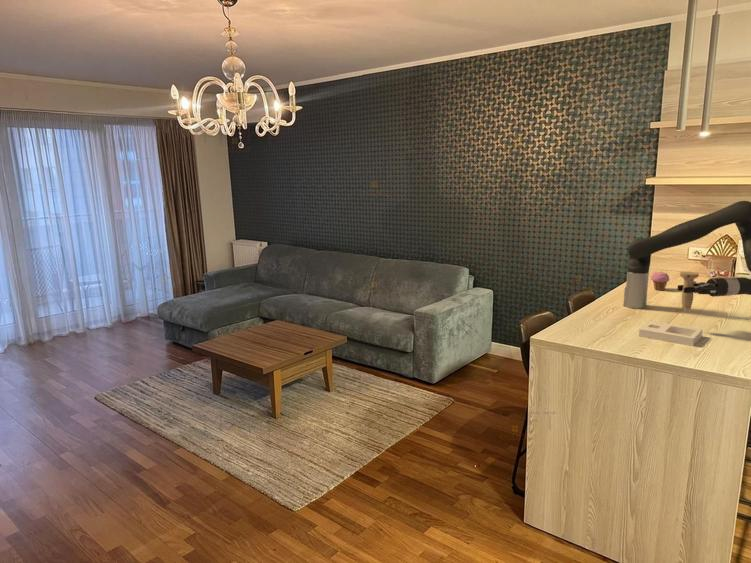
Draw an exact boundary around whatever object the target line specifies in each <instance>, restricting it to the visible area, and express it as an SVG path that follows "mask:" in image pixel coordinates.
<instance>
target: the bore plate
mask: <svg viewBox="0 0 751 563" xmlns="http://www.w3.org/2000/svg"><path fill="white" fill-rule="evenodd" d="M638 331H639V332H638V337H642V338H647V339H653V340H658V341H664V342H668V343H674V344H679V345H683V346H684V345H685V346H689V347H690V346H691V347H694V345H695V344H697V342H698V341H699V340H700V339H701V338H702V337H703V329H702V328H698V327H697V328H695V327H690V326H683V325H677V324H671V323H666V322H665V323H664V322H660V321H659V322H658V321H653V320H650V321H648V322H647V323H645V325H643V326H641V328H639V330H638Z"/></svg>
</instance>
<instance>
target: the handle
mask: <svg viewBox="0 0 751 563" xmlns="http://www.w3.org/2000/svg"><path fill="white" fill-rule="evenodd" d="M679 277H681V278H683V284H682V285H683V290H684V287H693V284H694V281H695V279H698V278H699V272H692V271H680V273H679ZM693 301H694V292H693V293H684V292H683V291H681V308H682V309H683V310H689V311H691V309H692V305H693Z"/></svg>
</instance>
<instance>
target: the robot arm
mask: <svg viewBox="0 0 751 563" xmlns="http://www.w3.org/2000/svg"><path fill="white" fill-rule="evenodd" d="M732 224H735V226H736V227H737V230H738V231H739V234H740V238H741V244H742V251H743V257H744V260H745V265H746V267H747V270H748V272H750V273H751V201H749V200H739V201H737V202H734V203H732V204H730V205H727V206H725V207H723V208H720V209H719V210H716V211H714V212H711V213H709V214H705V215H701V216H699V217H696V218H694V219H689V220H687V221H685V222H681V223H679V224H676V225H674V226H672V227H670V228H667V229H666V230H664V231H662V232H660V233H657V234H655V235H653V236H648V237H645V238H644V237H638V238H636V239H634V240H632V241H631V242H630V243H629V244H628V247H627V253H628V255H629V256H628V258H629V259H628V263H627V264H628V265H627V272H626V286H624V290H623V293H624V294H623V306H624V307H627V308H629V309H645V308H647V301H648V300H647V299H648V290H649V289H648V287H649V276H650V274H649V273H650V266H651V259H652V258H651V257H652V255H653V254H654V253H658V252H660V251H662V250H666V249H670V248H674V247H678V246H681V245H685V244H688V243H690V242H691V243H692V242H694V241H698V240H701V239H702V238H704V237H706V236H707V235H709V234H711V233H713V232H714V231H716V230H718V229H720V228H723V227H726V226H729V225H732ZM676 288H677V291H680V292H682V291H683V292H684V293H693V294H697V295H709V296H710V297H712V298H713V297H729V296H734V295H735V296H737V295H748V296H751V278H748V277H744V276H742V277H741V276H740V277H737V276H736V277H730V276H729V277H726V276H725V277H714V278H713V277H711V278H709V279H708V280H707V281H706V282H705V281H701V282H697V281H695V280H694V284H693V287H684V290H683V284H679V285H677V287H676Z"/></svg>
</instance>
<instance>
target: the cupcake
mask: <svg viewBox="0 0 751 563" xmlns="http://www.w3.org/2000/svg"><path fill="white" fill-rule="evenodd" d="M650 280H651V281H652V282H653V288H654V290H655V291H665V289H666V287H667V284H668V282H670V276H669V275H668V273H667V272H663V271H656V272H653V273H652V275H651V277H650Z"/></svg>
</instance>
